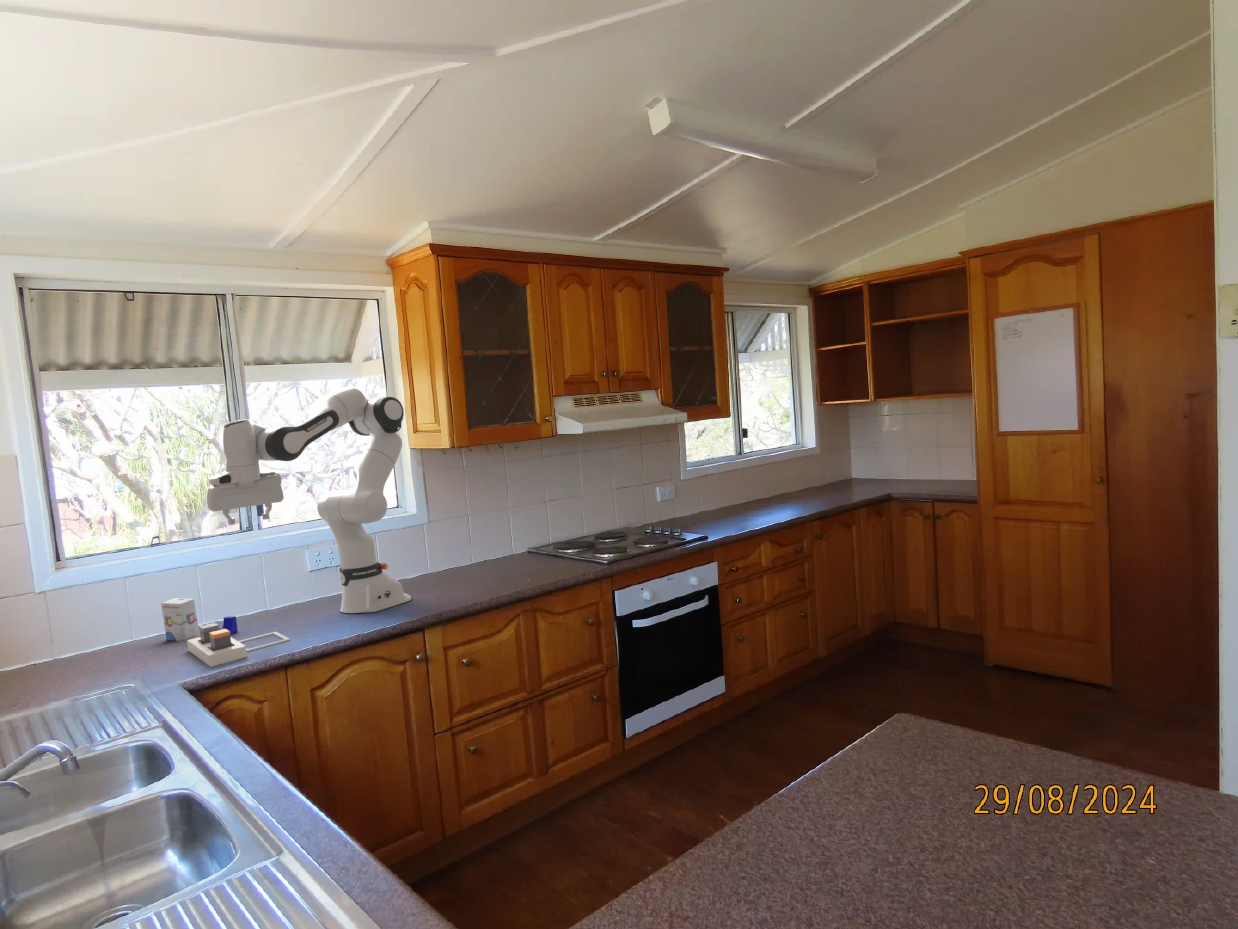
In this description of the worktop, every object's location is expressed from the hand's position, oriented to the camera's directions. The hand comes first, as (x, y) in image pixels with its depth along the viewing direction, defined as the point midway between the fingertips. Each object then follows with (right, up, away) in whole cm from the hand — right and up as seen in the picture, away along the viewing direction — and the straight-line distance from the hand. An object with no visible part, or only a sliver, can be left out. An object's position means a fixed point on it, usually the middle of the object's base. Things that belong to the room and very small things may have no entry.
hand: (249, 521), depth 226 cm
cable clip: (-9, -36, 0) cm, 37 cm away
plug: (+2, -35, -19) cm, 40 cm away
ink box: (-23, -36, +7) cm, 43 cm away
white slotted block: (-1, -36, -15) cm, 39 cm away
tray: (+7, -35, -8) cm, 36 cm away
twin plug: (-5, -35, -12) cm, 37 cm away
